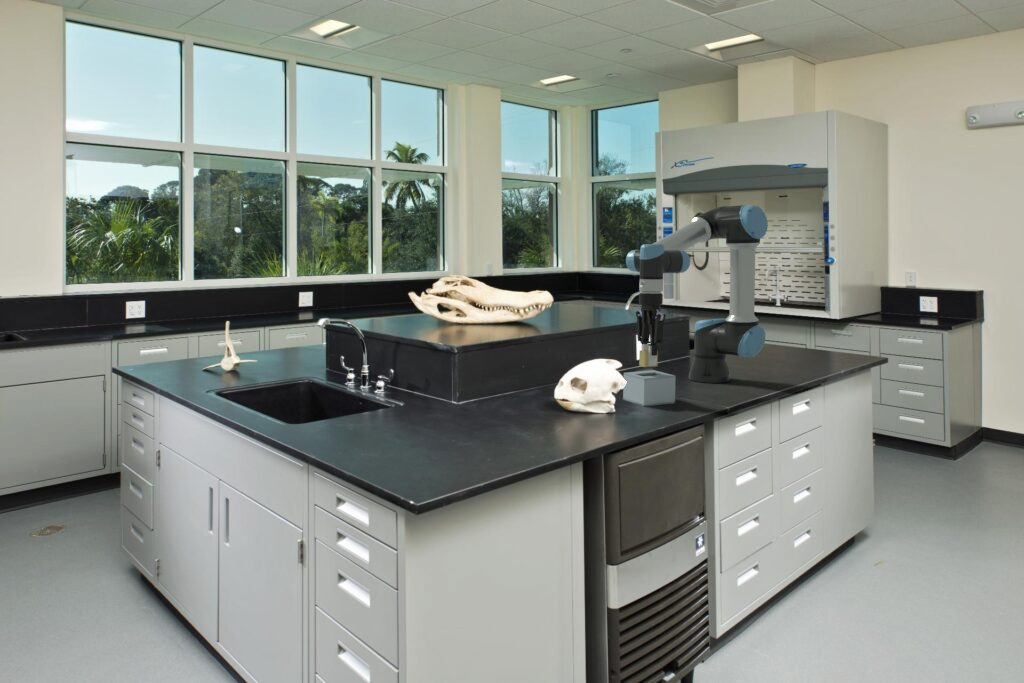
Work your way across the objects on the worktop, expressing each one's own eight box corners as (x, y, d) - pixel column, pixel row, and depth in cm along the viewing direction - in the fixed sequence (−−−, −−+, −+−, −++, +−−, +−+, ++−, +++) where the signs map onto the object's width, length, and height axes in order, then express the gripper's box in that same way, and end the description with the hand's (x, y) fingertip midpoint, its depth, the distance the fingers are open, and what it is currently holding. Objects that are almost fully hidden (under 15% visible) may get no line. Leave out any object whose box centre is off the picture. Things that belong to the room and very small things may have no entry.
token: (652, 365, 248) (652, 349, 247) (657, 366, 245) (657, 351, 245) (639, 365, 246) (639, 350, 245) (644, 367, 243) (644, 351, 243)
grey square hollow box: (653, 396, 255) (653, 370, 254) (674, 403, 245) (675, 375, 243) (623, 399, 250) (623, 372, 249) (643, 406, 240) (644, 378, 238)
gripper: (627, 291, 249) (625, 361, 251) (655, 294, 234) (653, 368, 237) (646, 290, 252) (644, 360, 255) (675, 293, 237) (673, 367, 240)
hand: (649, 364), depth 246 cm, fingers closed on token, 3 cm apart
